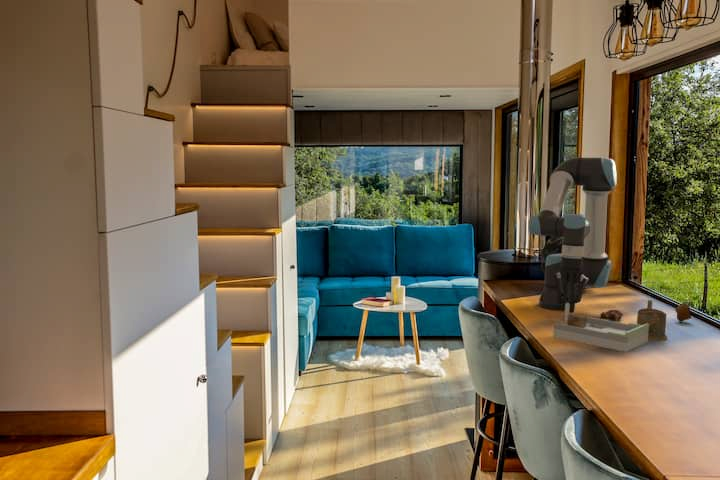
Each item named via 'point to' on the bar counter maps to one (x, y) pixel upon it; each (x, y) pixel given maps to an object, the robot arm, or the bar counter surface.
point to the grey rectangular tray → (605, 334)
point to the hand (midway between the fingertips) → (567, 320)
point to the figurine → (612, 315)
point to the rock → (684, 311)
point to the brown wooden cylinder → (653, 322)
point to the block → (577, 320)
